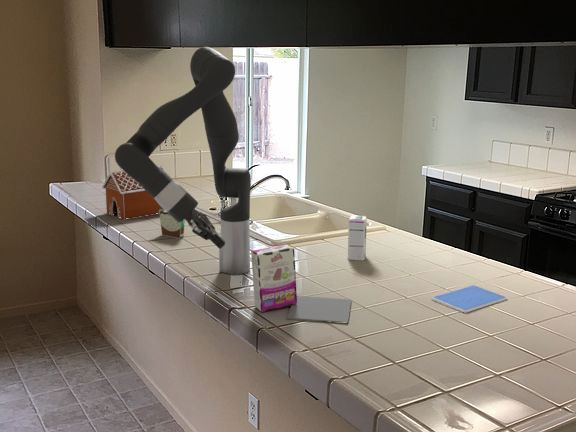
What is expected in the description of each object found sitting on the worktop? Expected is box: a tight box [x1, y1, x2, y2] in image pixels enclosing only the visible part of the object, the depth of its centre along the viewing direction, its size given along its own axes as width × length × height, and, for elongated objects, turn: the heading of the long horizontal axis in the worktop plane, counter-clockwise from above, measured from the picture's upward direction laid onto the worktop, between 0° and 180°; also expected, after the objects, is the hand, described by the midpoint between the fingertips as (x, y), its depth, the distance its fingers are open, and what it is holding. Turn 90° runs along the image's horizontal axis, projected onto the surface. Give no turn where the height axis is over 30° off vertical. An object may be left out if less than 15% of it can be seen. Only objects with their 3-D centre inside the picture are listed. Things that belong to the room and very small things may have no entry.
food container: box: [157, 209, 186, 240], centre depth 240 cm, size 12×6×10 cm, turn 58°
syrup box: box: [347, 214, 367, 262], centre depth 215 cm, size 6×6×14 cm
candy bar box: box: [250, 244, 298, 313], centre depth 171 cm, size 11×5×16 cm, turn 117°
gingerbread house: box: [101, 165, 167, 220], centre depth 274 cm, size 18×26×20 cm
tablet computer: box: [431, 285, 508, 314], centre depth 180 cm, size 19×13×1 cm, turn 126°
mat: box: [286, 295, 352, 323], centre depth 171 cm, size 16×16×1 cm
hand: (223, 245), depth 168 cm, fingers closed
